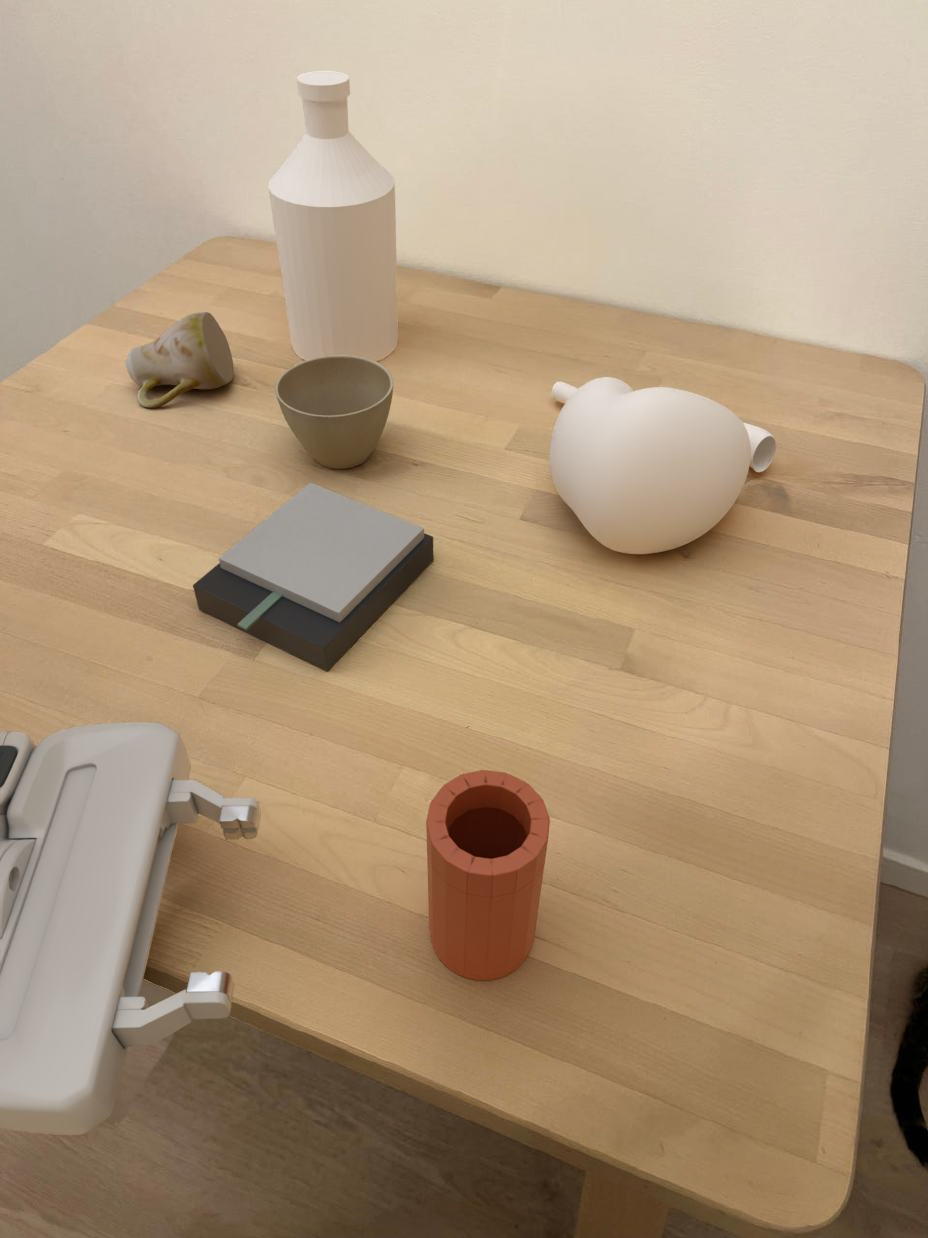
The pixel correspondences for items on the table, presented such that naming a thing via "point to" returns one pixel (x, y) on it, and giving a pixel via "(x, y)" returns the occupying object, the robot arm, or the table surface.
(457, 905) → the jar
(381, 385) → the olive grey bowl
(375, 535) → the scale
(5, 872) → the robot arm
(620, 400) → the stomach
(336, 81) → the bottle
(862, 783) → the table surface
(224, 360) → the mug
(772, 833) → the table surface
